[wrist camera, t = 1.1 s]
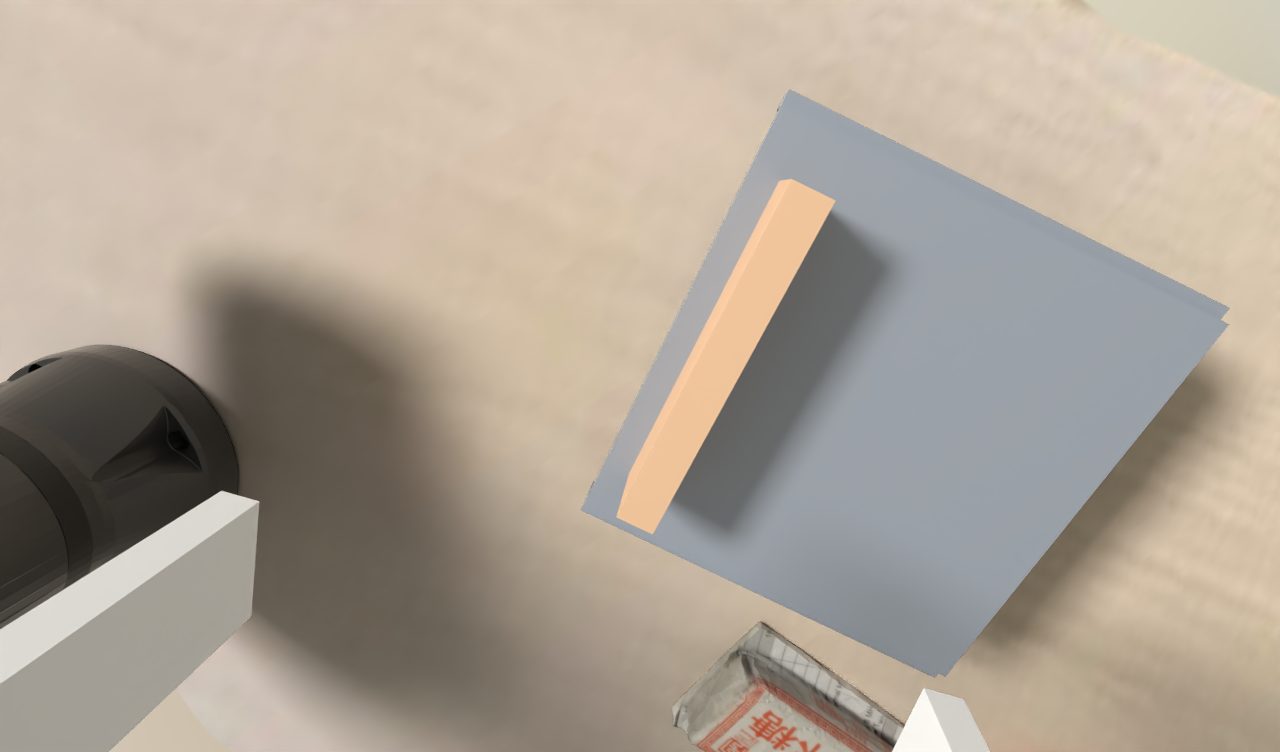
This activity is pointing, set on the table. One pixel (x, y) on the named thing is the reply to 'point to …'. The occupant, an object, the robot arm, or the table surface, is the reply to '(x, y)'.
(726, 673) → the packaged product
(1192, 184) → the table surface
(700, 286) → the lid
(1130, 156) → the table surface
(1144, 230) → the table surface
